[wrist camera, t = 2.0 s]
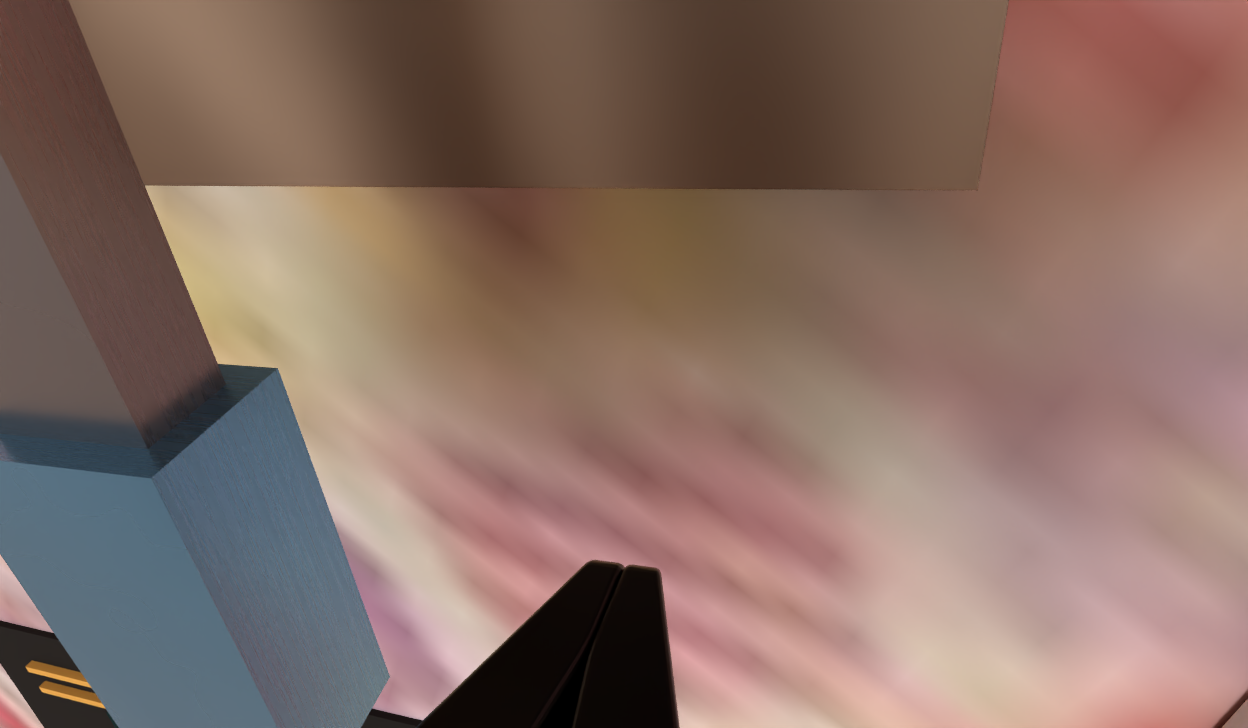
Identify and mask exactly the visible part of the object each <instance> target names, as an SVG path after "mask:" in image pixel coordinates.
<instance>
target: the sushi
mask: <svg viewBox="0 0 1248 728" xmlns="http://www.w3.org/2000/svg"><path fill="white" fill-rule="evenodd" d="M0 664H1V665H2V666H3V668H4V669H5V671H6V672H7V674H8V675H9V677H10V678H11V680H12V681H13V682H14V684H15V685H16V687H17V688H18V690H19V691H20V693H21V694H22V696H23V697H24V699H25V700H26V701H27V703H28V704H29V706H30V707H31V709H32V710H33V712H34V713H35V715H36V716H37V718H38V719H39V720H40V722H41V723H42V725H43V726H44V728H119V727H118V726H117V724H116V723H115V721H114V720H113V719H112V717H111V716H110V714H109V713H108V711H107V710H106V708H105V707H104V705H103V704H102V702H101V701H100V699H99V698H98V697H97V695H96V694H95V692H94V691H93V689H92V688H91V686H90V685H89V683H88V682H87V680H86V679H85V678H84V676H83V675H82V673H81V672H80V670H79V669H78V667H77V666H76V664H75V663H74V661H73V660H72V658H71V657H70V656H69V654H68V653H67V651H66V650H65V648H64V647H63V645H62V644H61V642H60V641H59V639H58V638H57V636H56V635H55V634H54V633H50V632H46V631H42V630H38V629H33V628H29V627H25V626H21V625H16V624H12V623H8V622H4V621H0ZM421 722H422V720H418V719H413V718H409V717H405V716H401V715H397V714H392V713H388V712H384V711H380V710H375V709H371V711H370V712H369V714H368V716H367V718H366V719H365V721H364V723H363V725H362V726H361V728H416V727H417V726H418V725H419V724H420V723H421Z"/></svg>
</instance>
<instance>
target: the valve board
mask: <svg viewBox="0 0 1248 728" xmlns="http://www.w3.org/2000/svg"><path fill="white" fill-rule="evenodd" d="M69 2H70V5H71V7H72V10H73V12H74V15H75V17H76V19H77V22H78V24H79V27H80V29H81V32H82V34H83V37H84V39H85V41H86V44H87V46H88V49H89V51H90V54H91V56H92V59H93V61H94V63H95V66H96V68H97V71H98V73H99V76H100V78H101V80H102V83H103V85H104V88H105V90H106V93H107V95H108V98H109V100H110V102H111V105H112V107H113V110H114V112H115V115H116V117H117V120H118V122H119V124H120V127H121V129H122V132H123V134H124V137H125V139H126V141H127V144H128V146H129V149H130V151H131V154H132V156H133V159H134V161H135V163H136V166H137V168H138V171H139V173H140V176H141V178H142V181H143V183H144V185H170V186H338V187H505V188H672V189H840V190H978V184H979V178H980V172H981V166H982V160H983V154H984V148H985V142H986V136H987V130H988V124H989V118H990V112H991V106H992V99H993V93H994V87H995V81H996V75H997V69H998V63H999V57H1000V51H1001V45H1002V39H1003V33H1004V27H1005V21H1006V15H1007V9H1008V2H1009V0H69Z"/></svg>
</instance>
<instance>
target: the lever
mask: <svg viewBox="0 0 1248 728" xmlns="http://www.w3.org/2000/svg"><path fill="white" fill-rule="evenodd" d="M0 554H1V556H2V557H3V559H4V560H5V562H6V563H7V565H8V566H9V568H10V569H11V571H12V572H13V574H14V575H15V576H16V578H17V579H18V581H19V582H20V584H21V585H22V587H23V588H24V590H25V591H26V593H27V594H28V595H29V597H30V598H31V600H32V601H33V603H34V604H35V606H36V607H37V609H38V610H39V612H40V613H41V615H42V616H43V617H44V619H45V620H46V622H47V623H48V625H49V626H50V628H51V629H52V631H53V632H54V634H55V635H56V636H57V638H58V639H59V641H60V642H61V644H62V645H63V647H64V648H65V650H66V651H67V653H68V654H69V656H70V657H71V658H72V660H73V661H74V663H75V664H76V666H77V667H78V669H79V670H80V672H81V673H82V675H83V676H84V678H85V679H86V680H87V682H88V683H89V685H90V686H91V688H92V689H93V691H94V692H95V694H96V695H97V697H98V698H99V699H100V701H101V702H102V704H103V705H104V707H105V708H106V710H107V711H108V713H109V714H110V716H111V717H112V719H113V720H114V721H115V723H116V724H117V726H118V727H119V728H361V726H362V725H363V723H364V721H365V719H366V718H367V716H368V714H369V712H370V711H371V709H372V707H373V705H374V704H375V702H376V700H377V698H378V697H379V695H380V693H381V691H382V690H383V688H384V686H385V684H386V683H387V681H388V679H389V677H390V676H389V673H388V670H387V667H386V665H385V662H384V659H383V656H382V654H381V651H380V648H379V645H378V643H377V640H376V637H375V634H374V632H373V629H372V626H371V623H370V621H369V618H368V615H367V612H366V610H365V607H364V604H363V601H362V599H361V596H360V593H359V590H358V588H357V585H356V582H355V579H354V577H353V574H352V571H351V568H350V566H349V563H348V560H347V557H346V555H345V552H344V549H343V546H342V544H341V541H340V538H339V535H338V533H337V530H336V527H335V524H334V522H333V519H332V516H331V513H330V511H329V508H328V505H327V502H326V500H325V497H324V494H323V492H322V489H321V486H320V483H319V481H318V478H317V475H316V472H315V470H314V467H313V464H312V461H311V459H310V456H309V453H308V450H307V448H306V445H305V442H304V439H303V437H302V434H301V431H300V428H299V426H298V423H297V420H296V417H295V415H294V412H293V409H292V406H291V404H290V401H289V398H288V395H287V393H286V390H285V387H284V384H283V382H282V379H281V376H280V373H279V371H278V368H266V367H252V366H239V365H225V364H217V361H216V359H215V356H214V354H213V351H212V349H211V346H210V344H209V342H208V339H207V337H206V334H205V332H204V329H203V327H202V325H201V322H200V320H199V317H198V315H197V312H196V310H195V307H194V305H193V303H192V300H191V298H190V295H189V293H188V290H187V288H186V285H185V283H184V281H183V278H182V276H181V273H180V271H179V268H178V266H177V264H176V261H175V259H174V256H173V254H172V251H171V249H170V246H169V244H168V242H167V239H166V237H165V234H164V232H163V229H162V227H161V224H160V222H159V220H158V217H157V215H156V212H155V210H154V207H153V205H152V202H151V200H150V198H149V195H148V193H147V190H146V188H145V185H144V183H143V181H142V178H141V176H140V173H139V171H138V168H137V166H136V163H135V161H134V159H133V156H132V154H131V151H130V149H129V146H128V144H127V141H126V139H125V137H124V134H123V132H122V129H121V127H120V124H119V122H118V120H117V117H116V115H115V112H114V110H113V107H112V105H111V102H110V100H109V98H108V95H107V93H106V90H105V88H104V85H103V83H102V80H101V78H100V76H99V73H98V71H97V68H96V66H95V63H94V61H93V59H92V56H91V54H90V51H89V49H88V46H87V44H86V41H85V39H84V37H83V34H82V32H81V29H80V27H79V24H78V22H77V19H76V17H75V15H74V12H73V10H72V7H71V5H70V2H69V0H0Z"/></svg>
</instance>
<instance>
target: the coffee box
mask: <svg viewBox="0 0 1248 728" xmlns="http://www.w3.org/2000/svg"><path fill="white" fill-rule="evenodd" d="M1222 728H1248V699H1247V700H1246V701H1245V702H1244V703H1243V704H1242V705H1241V707H1240V708H1239V709H1238V710H1237V711H1236V712H1235V713H1234V714H1233V716H1232V717H1231V718H1230V719H1229V720H1228V721H1227V722H1226V723H1225V724H1224V726H1223V727H1222Z"/></svg>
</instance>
